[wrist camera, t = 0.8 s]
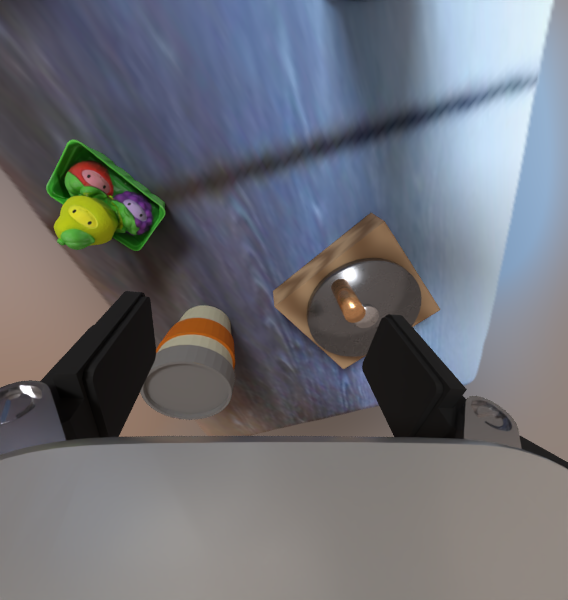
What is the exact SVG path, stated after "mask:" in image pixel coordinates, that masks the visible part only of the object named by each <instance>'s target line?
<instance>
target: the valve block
mask: <svg viewBox="0 0 568 600" xmlns="http://www.w3.org/2000/svg"><path fill="white" fill-rule="evenodd" d="M364 258H382V259H387V260H391V261H393V262H395V263H397V264H399V265H401V266H402V267H403V268H405V269H406V270H407V271H408V272H409V273H410V274H411V275H412V276H413V277H414V278H415V279H416V281H417V283H418V285H419V287H420V291H421V297H422V298H421V308H420V311H419V314H418V317H417V319H416V321H415V322H414V324H413V325H412V327H413V326H415V325H416V324H418V323H420V322H421V321H423V320H425V319H426V318H428V317H429V316H431V315H433V314H434V313H436V312H438V311H439V310H440V308H439V307H438V305H437V303H436V302H435V300H434V299H433V297H432V296H431V294H430V292H429V291H428V289H427V288H426V286H425V284H424V283H423V281H422V280H421V278H420V277H419V275H418V273H417V272H416V270H415V269H414V267H413V266H412V264H411V262H410V261H409V259H408V258H407V256H406V254H405V253H404V251H403V250H402V248H401V247H400V245H399V243H398V242H397V240H396V239H395V237H394V235H393V234H392V232H391V231H390V229H389V228H388V226H387V224H386V223H385V221H383V220H382V219H380V218H379V217H377V216H376V215H374V214H373V213H370V214H369V215H367V216H366V217H365V218H364V219H362V220H361V221H360V222H359V223H357V224H356V225H355V226H354V227H352V228H351V229H350V230H349V231H347V232H346V233H345V234H344V235H342V236H341V237H340V238H339V239H337V240H336V241H335V242H334V243H332V244H331V245H330V246H329V247H327V248H326V249H325V250H324V251H322V252H321V253H320V254H319V255H317V256H316V257H315V258H314V259H312V260H311V261H310V262H309V263H307V264H306V265H305V266H304V267H302V268H301V269H300V270H299V271H297V272H296V273H295V274H294V275H292V276H291V277H290V278H289V279H287V280H286V281H285V282H284V283H283V284H281V285H280V286H279V287H278V288H276V289H275V290H274V291H273V294H274V305H275V308H277V309H278V310H279V311H280V312H281V313H282V314H283V315H284V316H285V317H287V318H288V319H289V320H290V321H291V322H292V323H293V324H294V325H295V326H296V327H298V328H299V329H300V330H301V331H302V332H303V333H304V334H305V335H306V336H308V337H309V338H310V339H311V340H312V341H313V342H314V343H315V344H316V345H317V346H319V345H318V344H317V342H316V341H315V340H314V338H313V337H312V335H311V333H310V330H309V326H308V322H307V315H306V314H307V306H308V302H309V299H310V296H311V294H312V293H313V291H314V289H315V288H316V286H317V285H318V284H319V282H320V281H321V280H322V279H323V278H324V277H325V276H327V275H328V274H329V273H330V272H332V271H333V270H335V269H336V268H338V267H340V266H342V265H344V264H346V263H349V262H351V261H355V260H358V259H364ZM319 347H320V348H321V349H322V350H323V351H324V352H325V353H326V354H327V355H328V356H330V357H331V358H332V359H333V360H334V361H335V362H336V363H337V364H338V365H340V366H341V367H342V368H343V369H345V368H346V367H348V366H350V365H351V364H353V363H355V362H356V361H358V360H360V359H361V358H363V357H364V356H357V357H347V356H340V355H336V354H333V353H331V352H328V351H327V350H325V349H323V348H322V347H321V346H319ZM365 356H366V355H365Z"/></svg>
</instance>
